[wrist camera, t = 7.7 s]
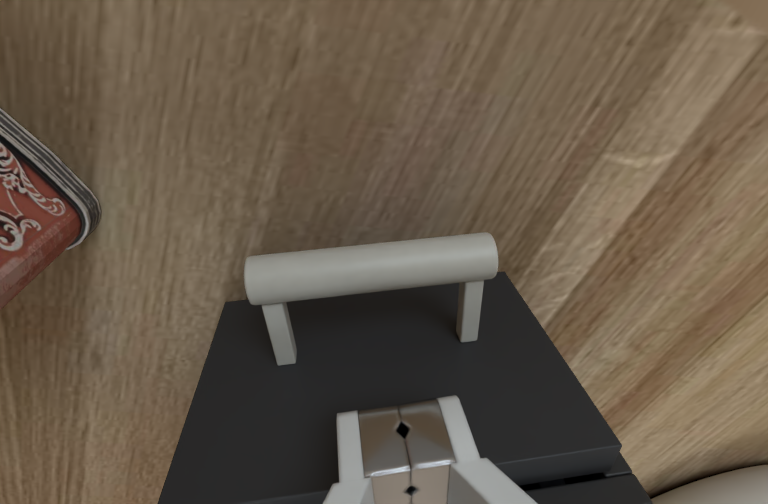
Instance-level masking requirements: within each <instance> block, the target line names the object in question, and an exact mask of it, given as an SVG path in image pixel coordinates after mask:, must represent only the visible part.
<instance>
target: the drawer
mask: <svg viewBox="0 0 768 504" xmlns="http://www.w3.org/2000/svg"><path fill="white" fill-rule="evenodd" d="M497 270H498V252H497V247H496V244H495V241H494V239H493V237H492V235H491V234H490V233H487V232H483V233H473V234H463V235H453V236H443V237H433V238H423V239H413V240H404V241H394V242H384V243H374V244H364V245H354V246H344V247H334V248H324V249H314V250H305V251H295V252H285V253H275V254H265V255H255V256H249V257H247V259H246V261H245V265H244V284H245V290H246V294H247V297H248V300H242V301H232V302H226V303H225V305H224V308H223V311H222V314H221V317H220V320H219V323H218V326H217V329H216V332H215V335H214V338H213V341H212V344H211V347H210V350H209V353H208V355H207V358H206V361H205V364H204V367H203V370H202V373H201V376H200V379H199V382H198V385H197V388H196V391H195V394H194V397H193V400H192V403H191V406H190V409H189V412H188V415H187V418H186V421H185V424H184V427H183V430H182V433H181V436H180V439H179V442H178V445H177V448H176V451H175V454H174V457H173V460H172V463H171V466H170V469H169V472H168V474H167V477H166V480H165V483H164V486H163V489H162V492H161V495H160V498H159V501H158V504H323V502H324V500H325V498H326V496H327V494H328V492H329V490H330V488H331V486H332V484H334V483H339V467H338V445H337V422H336V420H337V413H343V412H349V411H356V410H357V411H358V410H365V409H372V408H379V407H386V406H393V405H397V404H402V403H408V402H414V401H420V400H425V399H431V398H441V397H447V396H453V395H456V396H457V397H458V398H459V400H460V403H461V406H462V408H463V411H464V414H465V417H466V419H467V422H468V425H469V428H470V431H471V433H472V436H473V439H474V442H475V445H476V447H477V450H478V453H479V456H480V458H487V459H489V460H490V461H491V462H492V463H493V464H494V465H495V466H496V467H497V468H499V469H500V470H501V471H502V472H503V473H504V474H505V475H506V476H508V477H509V478H510V479H511V480H512V481H513V482H514V483H515V484H516V485H518V486H519V487H520V488H521V489H522V490H523V491H528V490H534V489H541V488H547V487H553V486H560V485H566V483H565V481H564V479H563V478H570V477H576V476H582V475H589V474H595V473H601V472H608V471H610V470H611V468H612V466H613V464H614V462H615V460H616V458H617V455H618V453H619V451H620V449H621V447H622V445H621V443H620V442H619V440H618V439H617V437H616V436H615V434H614V433H613V431H612V430H611V428H610V427H609V425H608V424H607V422H606V421H605V419H604V418H603V416H602V415H601V413H600V412H599V411H598V409H597V408H596V406H595V405H594V403H593V402H592V400H591V399H590V397H589V396H588V394H587V393H586V391H585V390H584V388H583V387H582V385H581V384H580V382H579V381H578V380H577V378H576V377H575V375H574V374H573V372H572V371H571V369H570V368H569V366H568V365H567V363H566V362H565V360H564V359H563V357H562V356H561V354H560V353H559V351H558V350H557V349H556V347H555V346H554V344H553V343H552V341H551V340H550V338H549V337H548V335H547V334H546V332H545V331H544V329H543V328H542V326H541V325H540V323H539V322H538V320H537V319H536V317H535V316H534V315H533V313H532V312H531V310H530V309H529V307H528V306H527V304H526V303H525V301H524V300H523V298H522V297H521V295H520V294H519V292H518V291H517V289H516V288H515V286H514V285H513V284H512V282H511V281H510V279H509V278H508V276H507V275H506V273H505V272H497Z"/></svg>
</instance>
